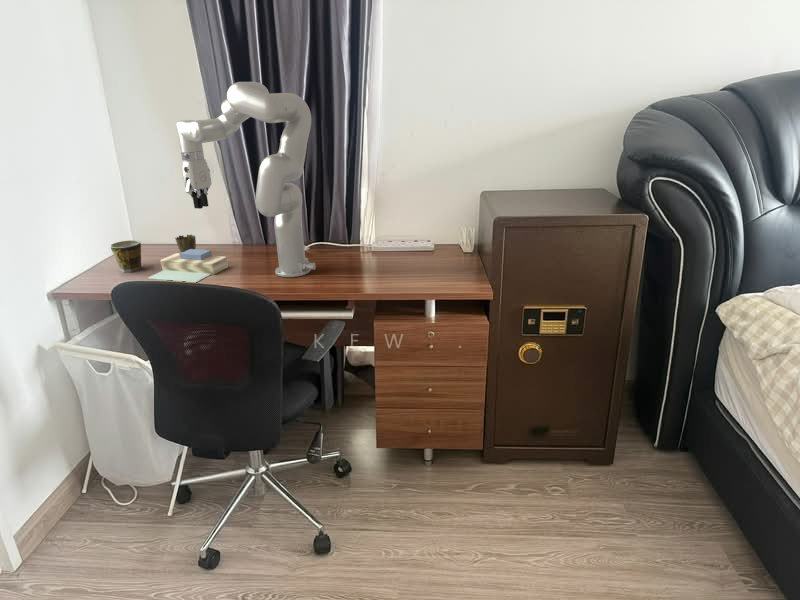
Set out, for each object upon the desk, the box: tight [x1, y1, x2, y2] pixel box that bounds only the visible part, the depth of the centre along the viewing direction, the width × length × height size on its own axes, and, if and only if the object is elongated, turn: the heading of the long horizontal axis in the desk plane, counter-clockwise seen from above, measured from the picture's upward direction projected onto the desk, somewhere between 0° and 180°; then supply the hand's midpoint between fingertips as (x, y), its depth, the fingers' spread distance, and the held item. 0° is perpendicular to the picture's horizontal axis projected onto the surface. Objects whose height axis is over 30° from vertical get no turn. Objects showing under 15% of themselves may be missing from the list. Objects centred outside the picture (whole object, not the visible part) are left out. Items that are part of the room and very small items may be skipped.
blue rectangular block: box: [179, 248, 212, 260], centre depth 193 cm, size 9×6×2 cm, turn 74°
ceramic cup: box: [109, 239, 142, 273], centre depth 191 cm, size 13×10×10 cm
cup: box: [174, 233, 197, 253], centre depth 207 cm, size 8×7×8 cm
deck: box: [160, 252, 229, 276], centre depth 193 cm, size 22×9×4 cm, turn 74°
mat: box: [146, 270, 211, 283], centre depth 185 cm, size 20×9×1 cm, turn 74°
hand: (201, 206), depth 194 cm, fingers closed
